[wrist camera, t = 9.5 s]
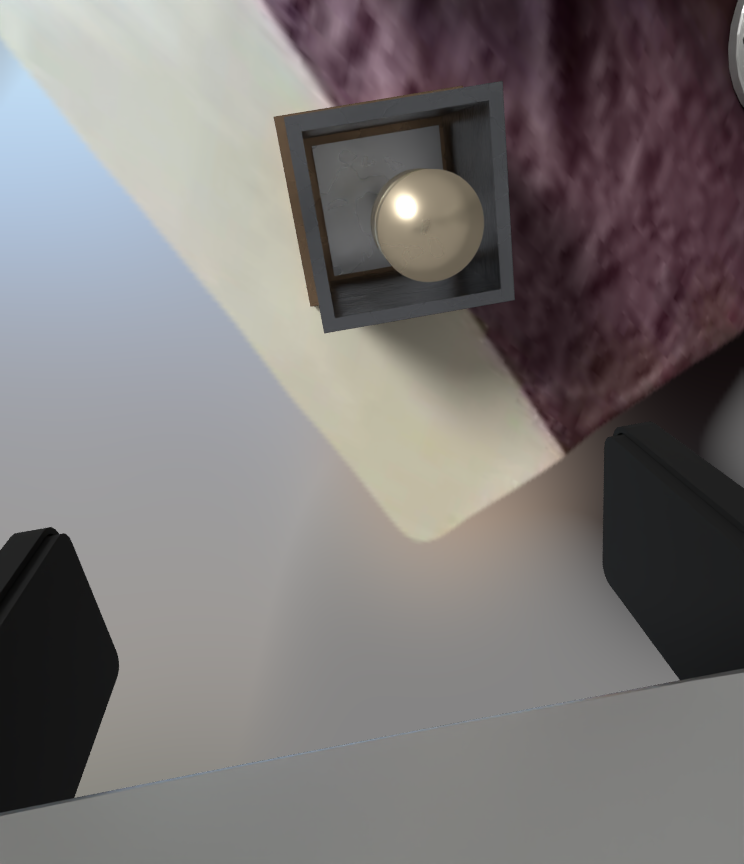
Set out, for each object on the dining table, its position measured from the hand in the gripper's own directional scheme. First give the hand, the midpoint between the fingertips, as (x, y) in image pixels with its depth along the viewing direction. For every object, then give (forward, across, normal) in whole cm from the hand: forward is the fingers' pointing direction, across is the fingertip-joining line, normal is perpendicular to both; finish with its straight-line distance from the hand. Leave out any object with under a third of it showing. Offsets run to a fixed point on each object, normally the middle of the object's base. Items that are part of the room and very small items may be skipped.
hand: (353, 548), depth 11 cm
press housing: (+35, -5, -3) cm, 36 cm away
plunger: (+34, -5, -3) cm, 34 cm away
